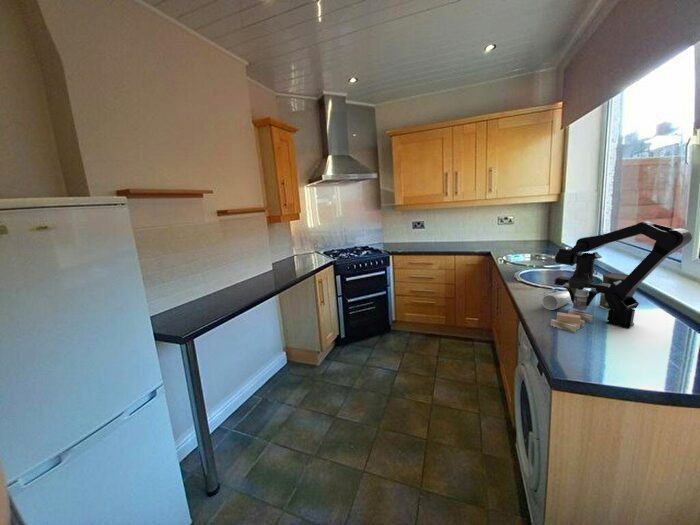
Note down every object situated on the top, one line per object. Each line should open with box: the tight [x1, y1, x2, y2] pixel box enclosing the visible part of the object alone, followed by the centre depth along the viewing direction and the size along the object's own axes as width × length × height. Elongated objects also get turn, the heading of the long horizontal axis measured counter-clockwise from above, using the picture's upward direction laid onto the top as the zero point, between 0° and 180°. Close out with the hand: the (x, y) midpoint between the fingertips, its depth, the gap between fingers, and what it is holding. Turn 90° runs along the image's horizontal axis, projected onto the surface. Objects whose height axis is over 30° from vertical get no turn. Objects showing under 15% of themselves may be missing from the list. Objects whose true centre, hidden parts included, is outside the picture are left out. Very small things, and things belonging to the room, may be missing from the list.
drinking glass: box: [541, 290, 572, 311], centre depth 134 cm, size 7×7×15 cm
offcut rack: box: [550, 309, 594, 334], centre depth 117 cm, size 8×16×2 cm, turn 124°
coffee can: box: [598, 272, 629, 311], centre depth 129 cm, size 10×10×14 cm
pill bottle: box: [572, 288, 589, 312], centre depth 126 cm, size 5×5×8 cm
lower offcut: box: [555, 318, 581, 331], centre depth 114 cm, size 7×3×2 cm, turn 38°
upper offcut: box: [556, 311, 581, 325], centre depth 114 cm, size 7×3×2 cm, turn 56°
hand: (580, 304), depth 126 cm, fingers closed on pill bottle, 5 cm apart
